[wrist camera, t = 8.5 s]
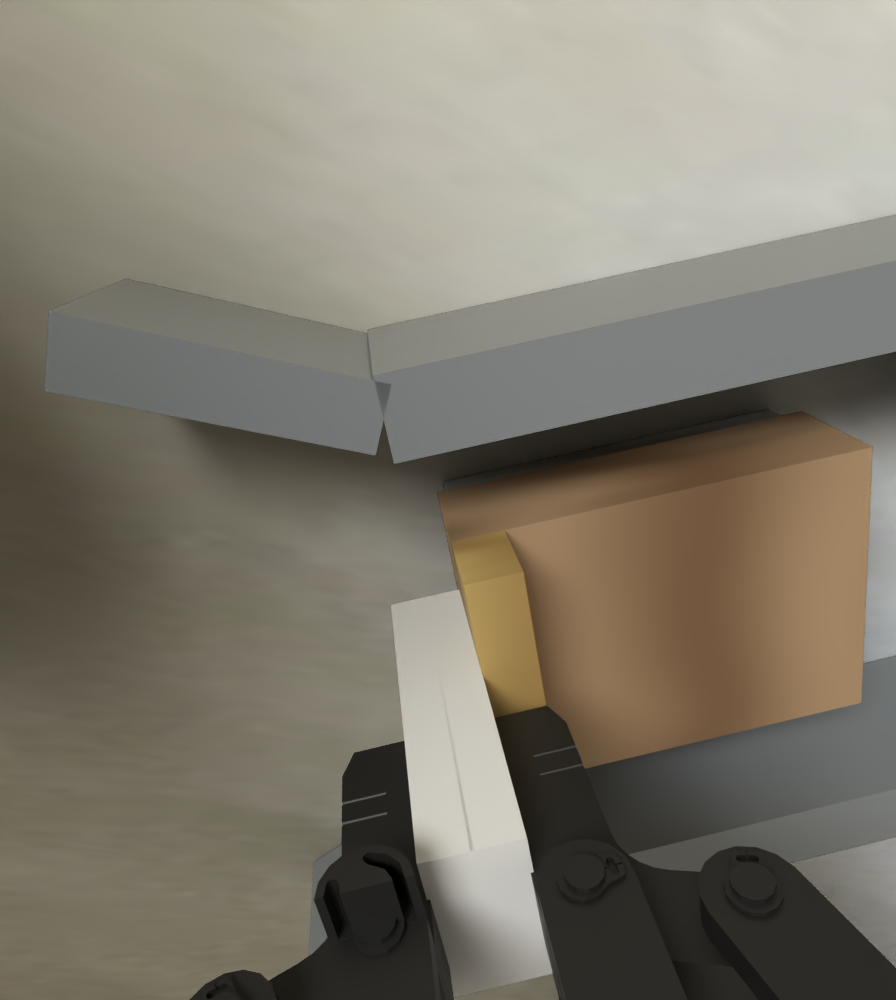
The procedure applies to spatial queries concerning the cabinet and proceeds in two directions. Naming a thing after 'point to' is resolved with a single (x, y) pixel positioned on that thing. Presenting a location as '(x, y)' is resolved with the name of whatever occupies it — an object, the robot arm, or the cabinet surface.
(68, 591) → the cabinet surface
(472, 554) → the tan block yellow end
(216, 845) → the cabinet surface
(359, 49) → the cabinet surface
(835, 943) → the robot arm
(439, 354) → the bay
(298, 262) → the cabinet surface
